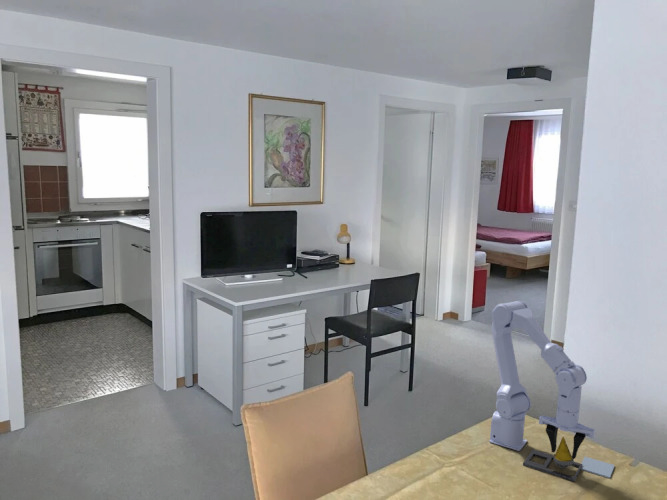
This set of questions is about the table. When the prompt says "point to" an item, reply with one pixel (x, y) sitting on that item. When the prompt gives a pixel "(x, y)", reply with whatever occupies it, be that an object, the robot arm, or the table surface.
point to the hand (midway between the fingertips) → (563, 454)
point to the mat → (597, 467)
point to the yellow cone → (563, 455)
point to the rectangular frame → (546, 464)
